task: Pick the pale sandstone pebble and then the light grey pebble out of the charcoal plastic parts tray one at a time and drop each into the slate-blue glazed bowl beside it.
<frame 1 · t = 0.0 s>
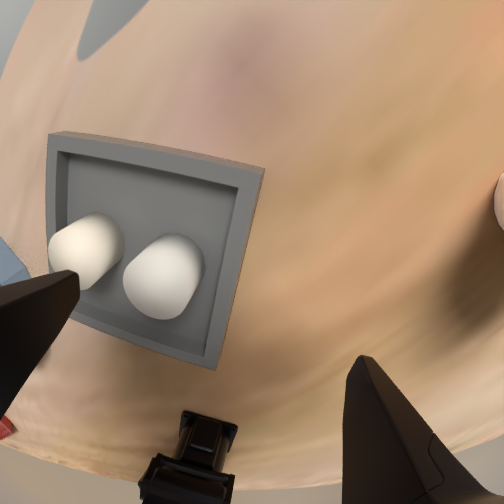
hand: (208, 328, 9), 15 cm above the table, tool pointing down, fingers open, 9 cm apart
parts tray: (139, 247, 26), on the table
pebble sand: (101, 239, 25), resting on parts tray
glazed bowl: (0, 296, 32), on the table
pebble grey: (176, 261, 25), resting on parts tray
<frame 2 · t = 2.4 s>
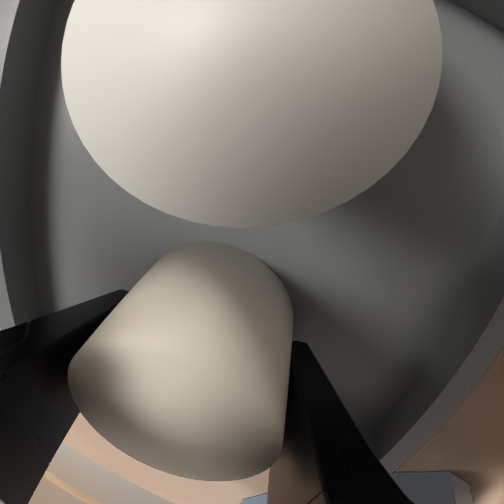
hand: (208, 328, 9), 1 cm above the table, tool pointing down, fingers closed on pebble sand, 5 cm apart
parts tray: (241, 202, 9), on the table
pebble sand: (214, 315, 10), resting on parts tray, touching gripper
pebble grey: (269, 73, 7), resting on parts tray
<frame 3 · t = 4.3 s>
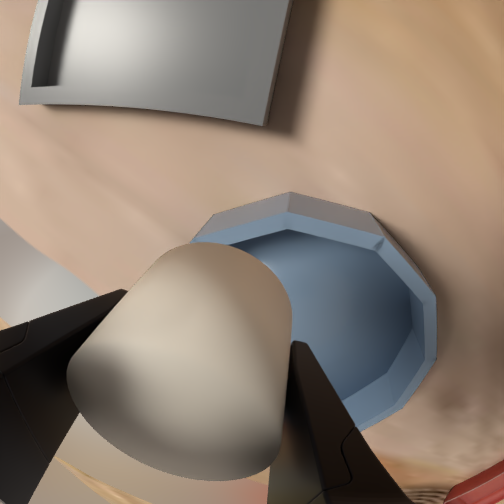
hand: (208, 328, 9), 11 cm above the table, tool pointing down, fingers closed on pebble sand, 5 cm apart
pebble sand: (213, 315, 10), point 10 cm above the table, touching gripper
glazed bowl: (293, 325, 22), on the table
plant saucer: (498, 473, 30), on the table
when the fingers open (3 cm above the table, at t = 6.4 s): pebble sand drops 2 cm, resting on glazed bowl.
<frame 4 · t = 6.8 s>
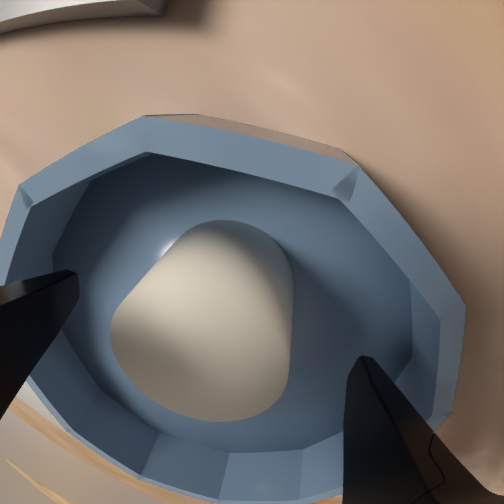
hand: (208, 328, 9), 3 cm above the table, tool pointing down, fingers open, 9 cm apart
pebble sand: (227, 282, 12), point 1 cm above the table, touching glazed bowl
glazed bowl: (216, 342, 14), on the table
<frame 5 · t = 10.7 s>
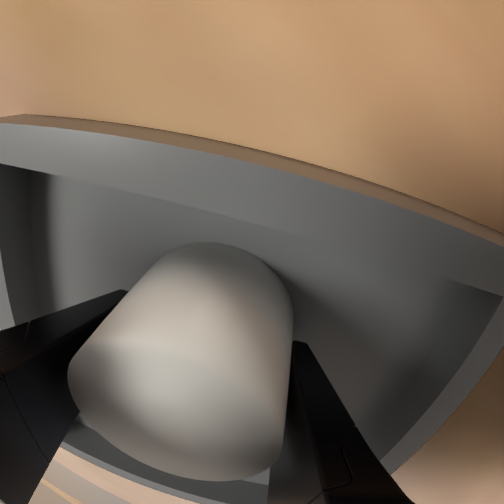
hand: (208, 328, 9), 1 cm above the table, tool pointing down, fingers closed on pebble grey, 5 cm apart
parts tray: (203, 377, 12), on the table
pebble grey: (214, 315, 10), point 1 cm above the table, touching gripper, parts tray
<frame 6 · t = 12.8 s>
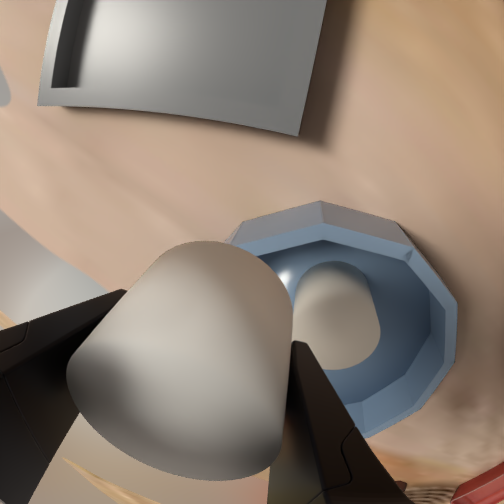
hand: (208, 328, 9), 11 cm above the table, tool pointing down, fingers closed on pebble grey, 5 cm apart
ice cream bowl: (387, 487, 32), on the table
pebble sand: (332, 294, 20), point 1 cm above the table, touching glazed bowl
glazed bowl: (317, 330, 22), on the table
pebble grey: (213, 314, 10), point 11 cm above the table, touching gripper
plant saucer: (503, 471, 31), on the table
when the fingers open (3 cm above the table, at t = 15.3 s): pebble grey drops 2 cm, resting on glazed bowl.
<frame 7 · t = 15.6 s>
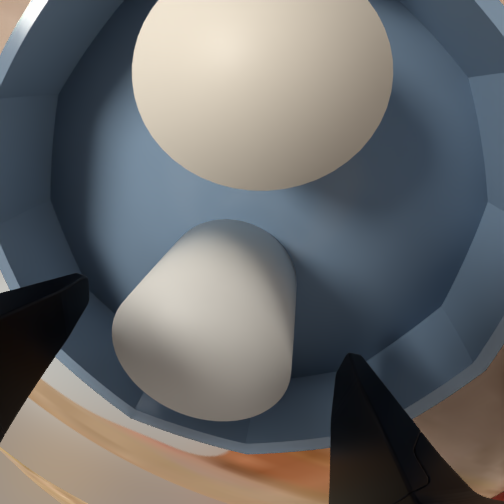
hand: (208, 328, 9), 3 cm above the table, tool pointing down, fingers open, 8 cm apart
pebble sand: (274, 85, 9), point 1 cm above the table, touching glazed bowl
glazed bowl: (252, 186, 11), on the table
pebble grey: (230, 282, 12), point 1 cm above the table, touching glazed bowl
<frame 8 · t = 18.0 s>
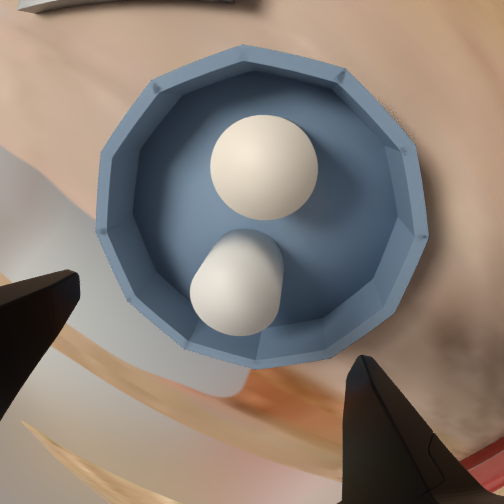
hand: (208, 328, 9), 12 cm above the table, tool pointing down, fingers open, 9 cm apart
pebble sand: (272, 157, 18), point 1 cm above the table, touching glazed bowl
glazed bowl: (260, 210, 20), on the table
pebble grey: (247, 263, 21), point 1 cm above the table, touching glazed bowl
plant saucer: (501, 452, 29), on the table
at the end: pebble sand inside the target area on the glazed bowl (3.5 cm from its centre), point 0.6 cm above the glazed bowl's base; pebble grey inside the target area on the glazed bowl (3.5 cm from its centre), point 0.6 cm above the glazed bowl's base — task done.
